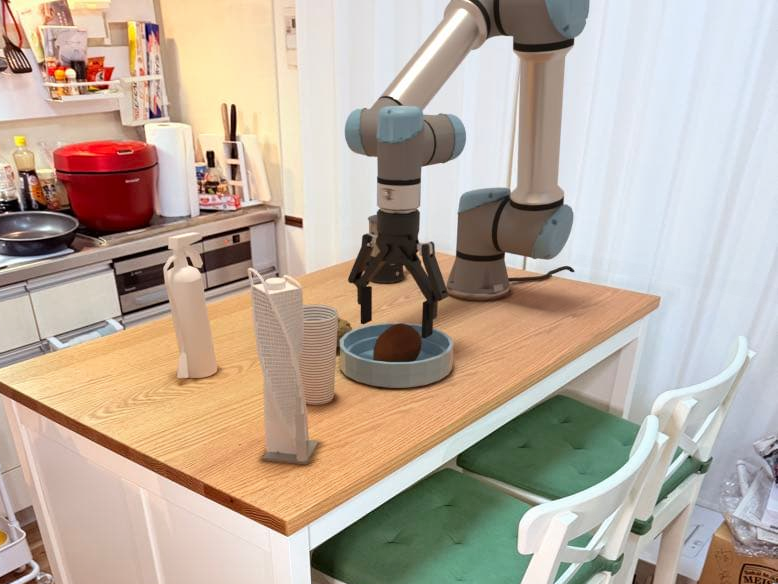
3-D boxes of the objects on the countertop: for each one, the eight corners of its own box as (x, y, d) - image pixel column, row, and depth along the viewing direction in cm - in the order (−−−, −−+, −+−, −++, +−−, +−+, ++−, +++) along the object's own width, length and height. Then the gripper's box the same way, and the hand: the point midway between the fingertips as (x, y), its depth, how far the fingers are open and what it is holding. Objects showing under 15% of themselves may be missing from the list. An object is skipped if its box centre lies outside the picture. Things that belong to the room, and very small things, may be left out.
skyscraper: (254, 459, 119) (235, 276, 103) (270, 435, 126) (255, 259, 110) (306, 464, 118) (295, 279, 102) (320, 440, 124) (312, 263, 108)
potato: (361, 368, 148) (361, 328, 143) (398, 351, 155) (399, 312, 150) (392, 379, 144) (393, 337, 139) (429, 360, 151) (431, 321, 146)
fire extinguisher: (161, 381, 144) (137, 242, 130) (201, 359, 153) (183, 227, 138) (190, 388, 141) (169, 247, 127) (229, 365, 150) (213, 231, 136)
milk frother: (391, 286, 192) (392, 223, 183) (339, 276, 199) (338, 215, 190) (420, 272, 202) (422, 212, 193) (369, 263, 209) (369, 205, 200)
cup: (296, 388, 141) (290, 304, 132) (342, 388, 141) (339, 304, 132) (290, 408, 134) (284, 320, 125) (339, 408, 134) (336, 321, 125)
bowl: (380, 339, 162) (380, 315, 159) (471, 360, 152) (473, 336, 149) (318, 372, 147) (316, 347, 144) (414, 399, 137) (415, 373, 134)
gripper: (327, 203, 136) (331, 321, 148) (450, 222, 125) (443, 348, 137) (352, 197, 141) (353, 311, 153) (472, 213, 130) (463, 336, 142)
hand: (395, 329), depth 145 cm, fingers open, 13 cm apart
